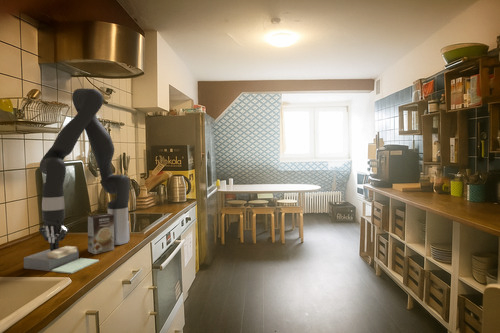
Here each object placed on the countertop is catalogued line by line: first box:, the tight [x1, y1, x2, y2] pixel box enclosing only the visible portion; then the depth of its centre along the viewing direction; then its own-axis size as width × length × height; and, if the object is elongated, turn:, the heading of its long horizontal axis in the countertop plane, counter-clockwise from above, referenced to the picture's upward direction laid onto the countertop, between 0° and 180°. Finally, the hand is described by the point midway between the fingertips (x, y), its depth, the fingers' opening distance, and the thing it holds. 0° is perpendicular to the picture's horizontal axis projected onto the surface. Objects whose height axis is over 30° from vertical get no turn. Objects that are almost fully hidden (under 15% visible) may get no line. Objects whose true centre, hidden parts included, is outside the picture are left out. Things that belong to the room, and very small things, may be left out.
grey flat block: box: [23, 248, 80, 272], centre depth 125 cm, size 14×12×4 cm
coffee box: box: [87, 213, 115, 255], centre depth 142 cm, size 9×6×16 cm
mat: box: [51, 257, 100, 274], centre depth 123 cm, size 14×9×1 cm, turn 165°
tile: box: [47, 245, 78, 259], centre depth 124 cm, size 9×5×2 cm, turn 165°
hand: (54, 251), depth 125 cm, fingers closed
